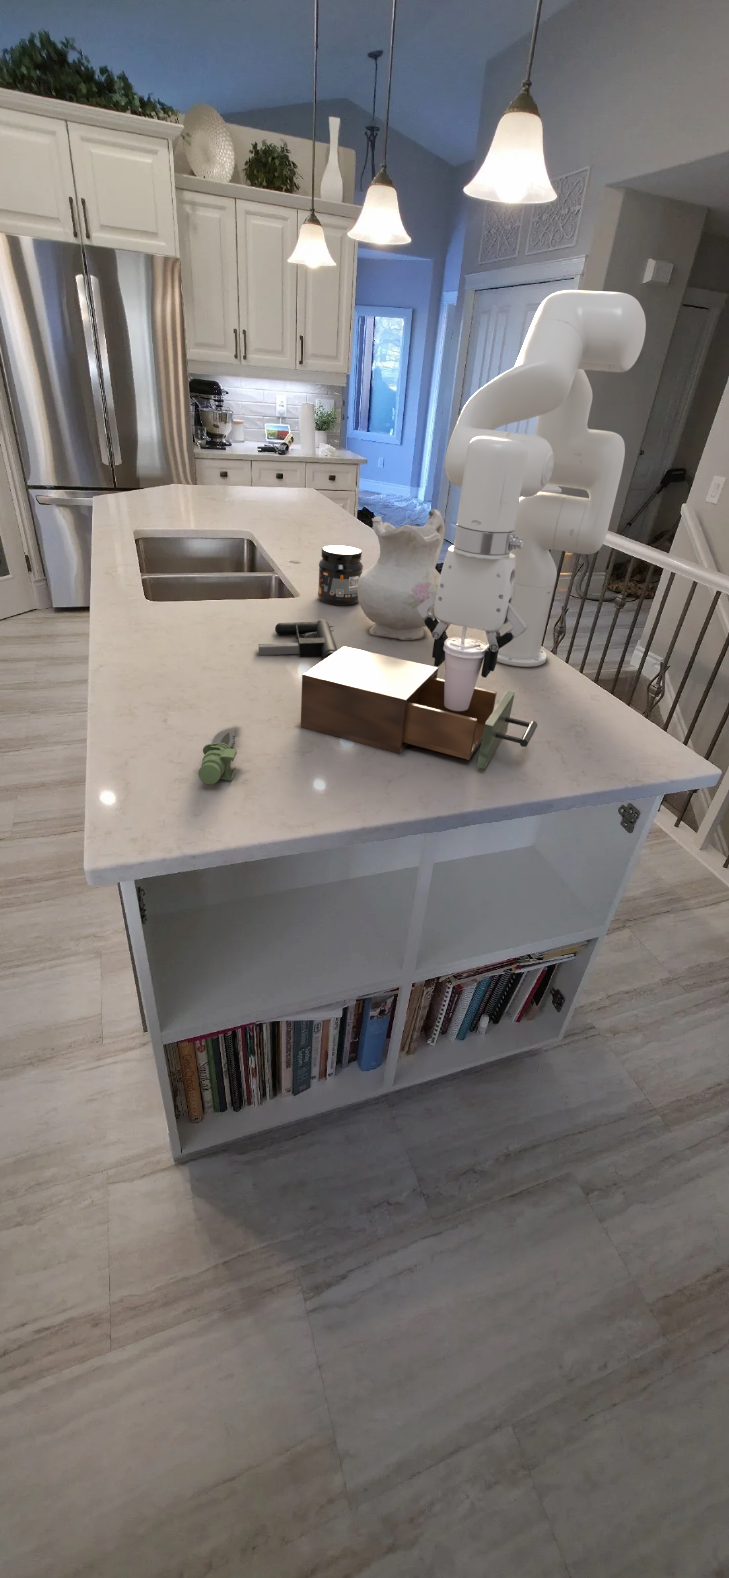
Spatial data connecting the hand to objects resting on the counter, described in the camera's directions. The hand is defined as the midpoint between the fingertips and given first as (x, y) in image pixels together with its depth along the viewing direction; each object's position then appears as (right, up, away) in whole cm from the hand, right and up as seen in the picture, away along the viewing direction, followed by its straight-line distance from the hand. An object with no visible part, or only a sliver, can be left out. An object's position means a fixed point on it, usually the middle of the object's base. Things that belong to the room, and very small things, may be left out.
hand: (462, 667), depth 99 cm
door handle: (-28, +10, +37) cm, 47 cm away
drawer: (+1, -10, +5) cm, 12 cm away
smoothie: (-1, -5, +3) cm, 6 cm away
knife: (-34, -14, -3) cm, 37 cm away
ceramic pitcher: (-6, +17, +51) cm, 54 cm away
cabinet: (-14, -7, +11) cm, 19 cm away
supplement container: (-21, +28, +67) cm, 76 cm away
